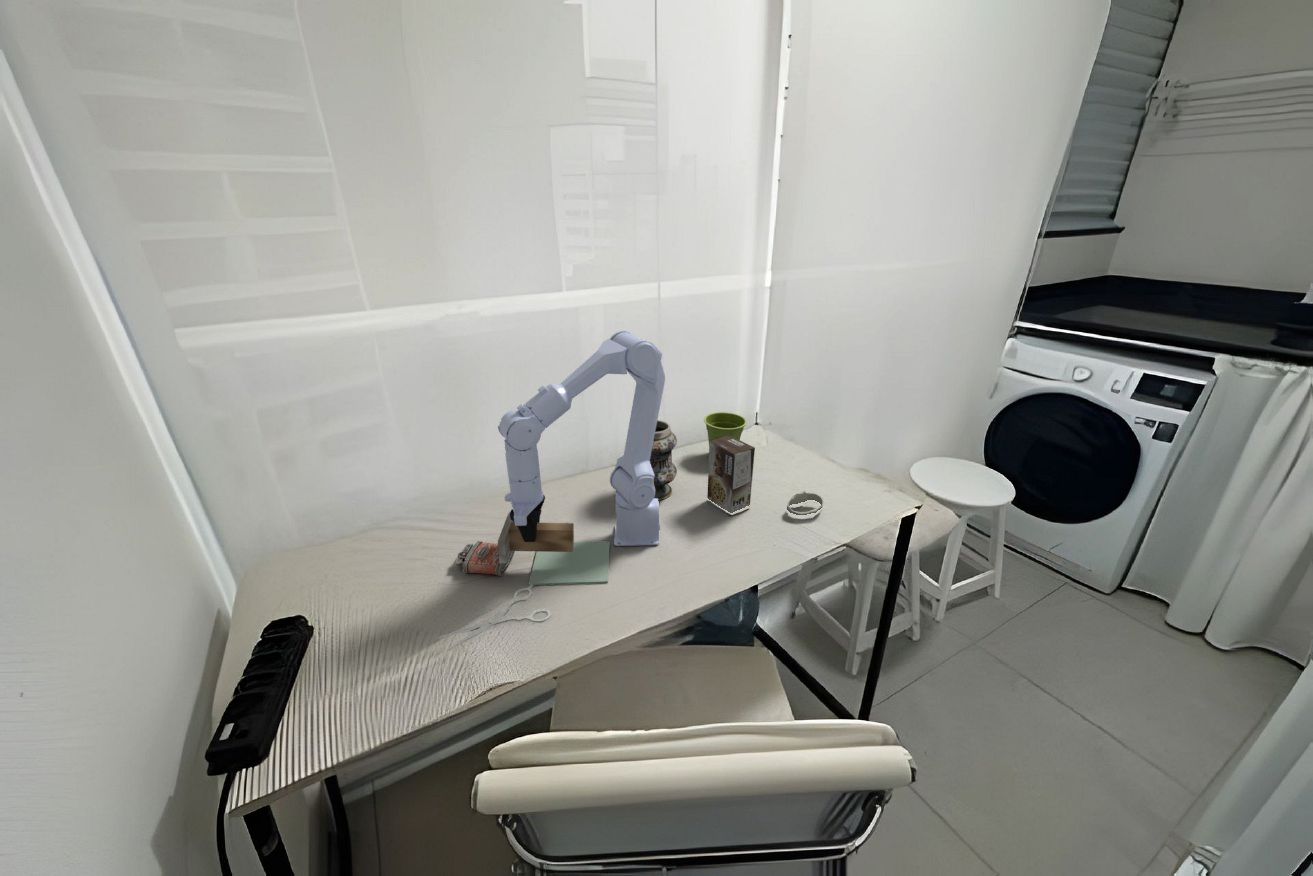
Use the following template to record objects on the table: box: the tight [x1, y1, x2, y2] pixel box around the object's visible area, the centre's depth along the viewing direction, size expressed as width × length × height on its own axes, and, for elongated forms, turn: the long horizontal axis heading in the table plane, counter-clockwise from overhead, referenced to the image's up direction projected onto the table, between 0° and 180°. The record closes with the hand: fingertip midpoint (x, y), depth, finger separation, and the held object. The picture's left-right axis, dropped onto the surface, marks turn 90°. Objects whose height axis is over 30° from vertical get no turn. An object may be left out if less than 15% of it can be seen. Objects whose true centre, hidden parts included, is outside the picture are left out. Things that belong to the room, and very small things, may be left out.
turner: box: [497, 510, 575, 563], centre depth 104 cm, size 13×10×5 cm
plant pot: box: [703, 411, 748, 443], centre depth 150 cm, size 12×12×11 cm
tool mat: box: [528, 540, 611, 586], centre depth 108 cm, size 15×13×1 cm
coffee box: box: [706, 435, 756, 513], centre depth 125 cm, size 9×6×16 cm
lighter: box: [454, 540, 516, 577], centre depth 106 cm, size 8×3×10 cm
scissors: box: [435, 585, 552, 654], centre depth 93 cm, size 11×1×20 cm
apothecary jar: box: [650, 419, 678, 501], centre depth 130 cm, size 12×12×18 cm
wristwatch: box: [786, 490, 824, 515], centre depth 124 cm, size 9×6×5 cm
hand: (531, 536), depth 104 cm, fingers closed on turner, 2 cm apart
